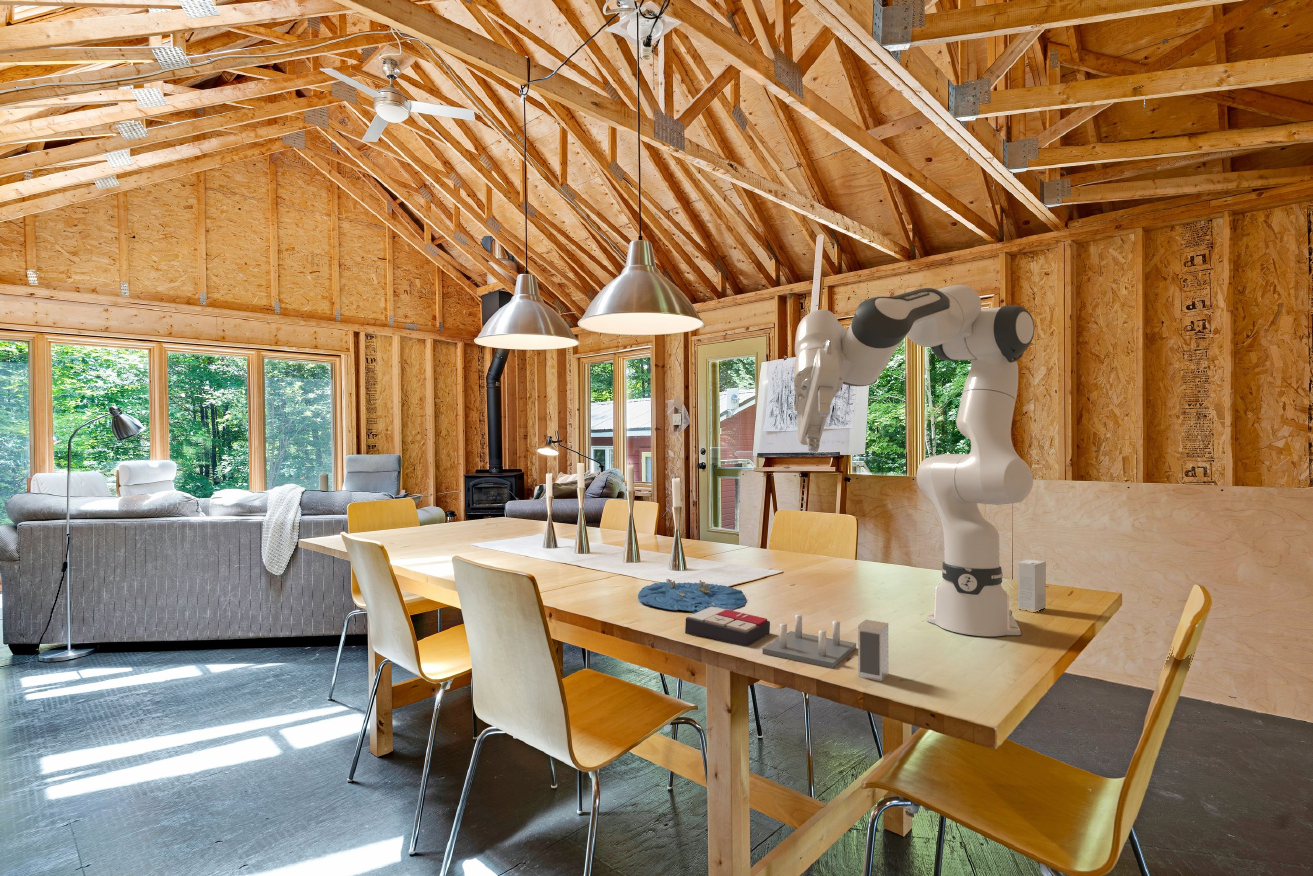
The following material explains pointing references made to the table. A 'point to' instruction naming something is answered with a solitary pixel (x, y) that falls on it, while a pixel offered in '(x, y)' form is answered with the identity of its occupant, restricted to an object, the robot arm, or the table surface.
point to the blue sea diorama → (691, 596)
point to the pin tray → (810, 646)
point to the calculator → (727, 626)
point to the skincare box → (1032, 585)
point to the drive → (873, 650)
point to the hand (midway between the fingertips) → (818, 432)
